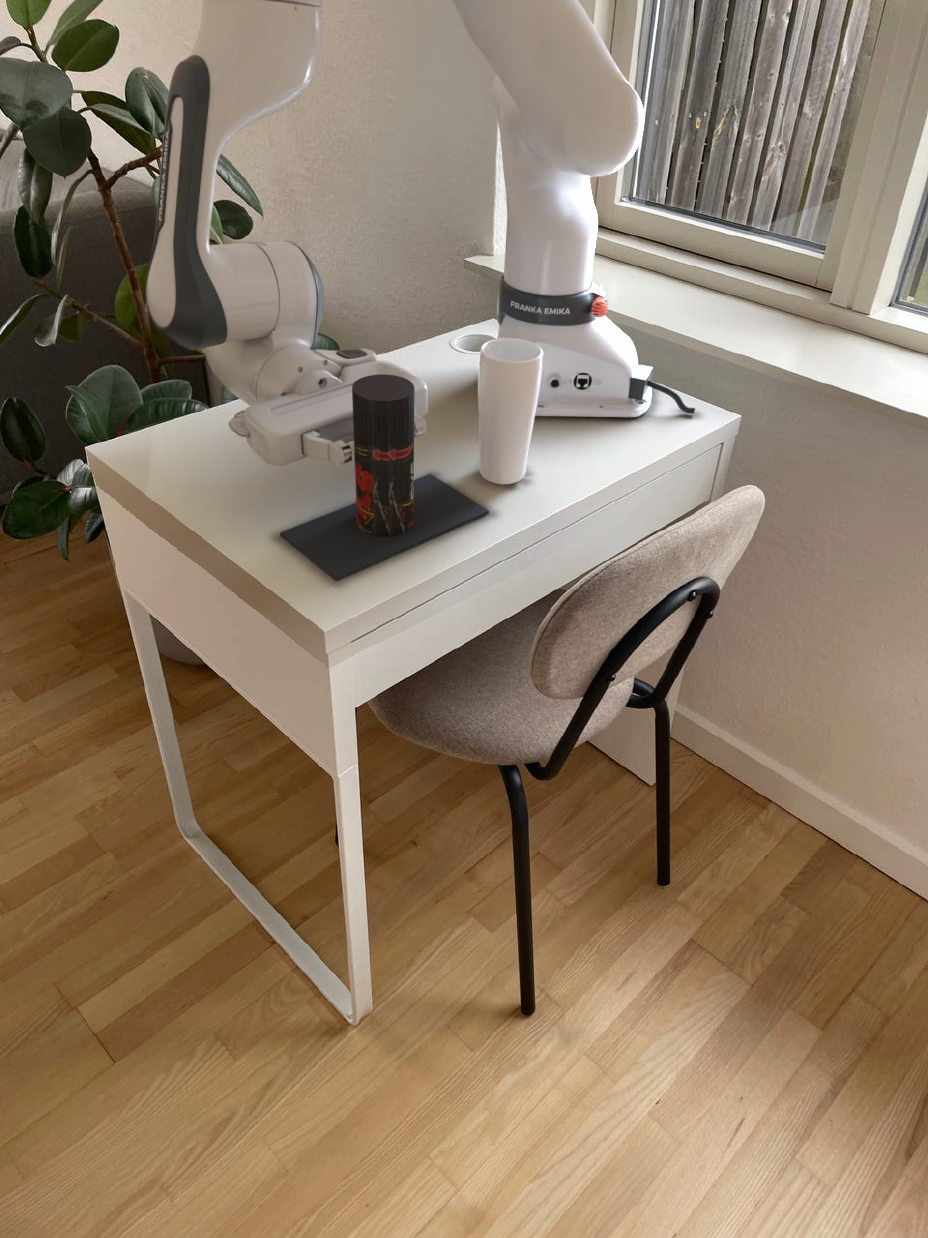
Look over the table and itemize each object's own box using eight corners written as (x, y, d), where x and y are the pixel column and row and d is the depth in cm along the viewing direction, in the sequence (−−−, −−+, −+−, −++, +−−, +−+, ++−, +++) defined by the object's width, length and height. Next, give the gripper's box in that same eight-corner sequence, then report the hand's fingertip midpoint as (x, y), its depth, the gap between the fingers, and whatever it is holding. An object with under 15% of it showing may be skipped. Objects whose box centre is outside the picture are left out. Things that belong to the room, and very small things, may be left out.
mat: (430, 476, 106) (430, 473, 106) (489, 513, 101) (489, 510, 100) (280, 535, 96) (279, 532, 95) (336, 581, 90) (336, 577, 90)
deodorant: (417, 534, 96) (419, 399, 87) (360, 538, 95) (355, 402, 86) (408, 504, 101) (409, 372, 91) (353, 508, 99) (348, 375, 90)
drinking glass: (526, 493, 104) (539, 366, 95) (467, 485, 105) (473, 358, 96) (535, 464, 109) (547, 341, 100) (478, 457, 110) (485, 333, 101)
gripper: (216, 391, 93) (293, 444, 85) (380, 344, 104) (461, 387, 96) (224, 448, 97) (298, 503, 89) (381, 397, 108) (459, 442, 100)
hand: (384, 442), depth 92 cm, fingers open, 8 cm apart
